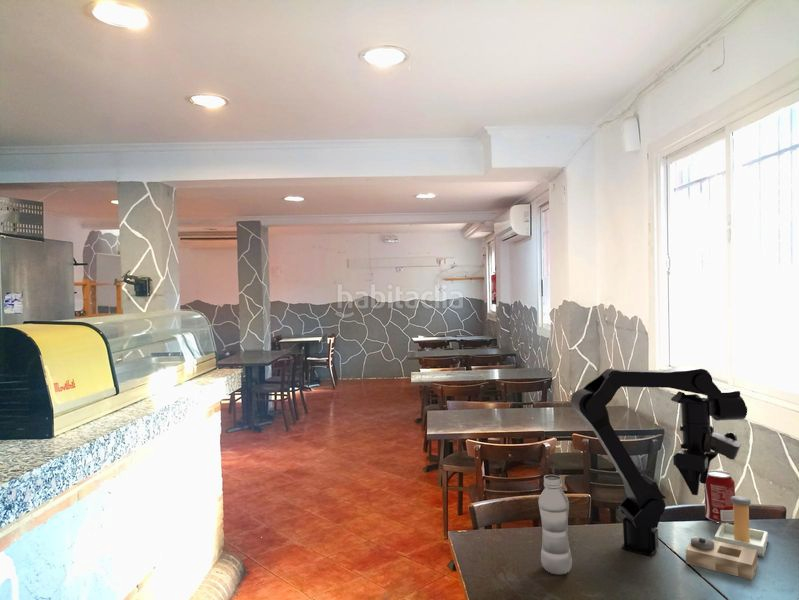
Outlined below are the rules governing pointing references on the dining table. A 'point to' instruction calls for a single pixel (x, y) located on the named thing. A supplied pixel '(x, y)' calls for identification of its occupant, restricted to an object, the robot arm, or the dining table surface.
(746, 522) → the pin
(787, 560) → the dining table surface
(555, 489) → the plastic bottle
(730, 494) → the soda can
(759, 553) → the tray
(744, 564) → the block
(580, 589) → the dining table surface
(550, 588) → the dining table surface
